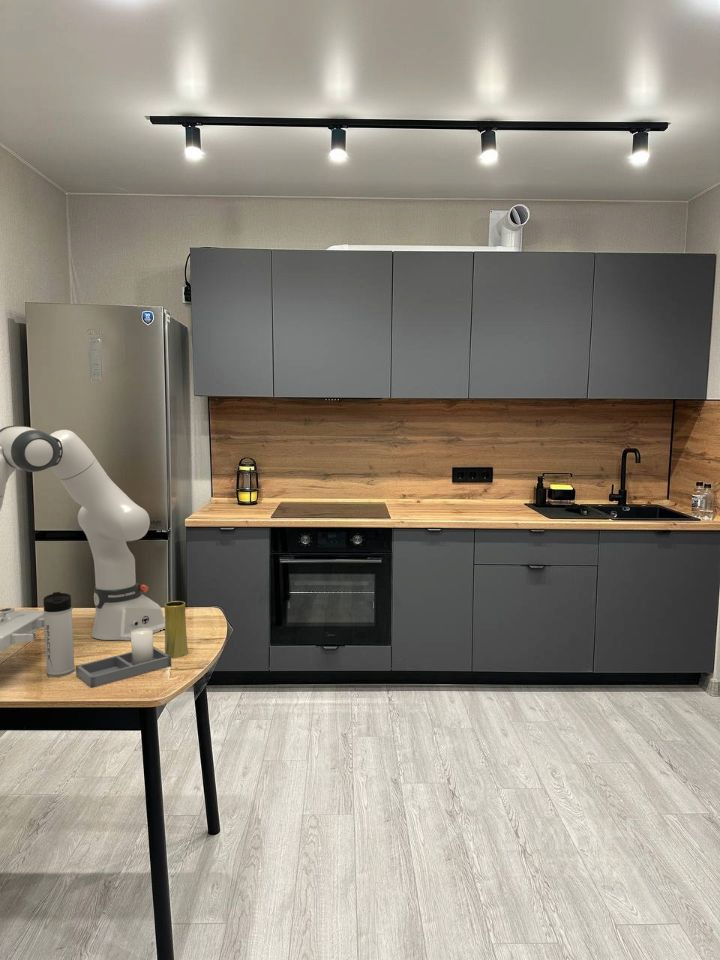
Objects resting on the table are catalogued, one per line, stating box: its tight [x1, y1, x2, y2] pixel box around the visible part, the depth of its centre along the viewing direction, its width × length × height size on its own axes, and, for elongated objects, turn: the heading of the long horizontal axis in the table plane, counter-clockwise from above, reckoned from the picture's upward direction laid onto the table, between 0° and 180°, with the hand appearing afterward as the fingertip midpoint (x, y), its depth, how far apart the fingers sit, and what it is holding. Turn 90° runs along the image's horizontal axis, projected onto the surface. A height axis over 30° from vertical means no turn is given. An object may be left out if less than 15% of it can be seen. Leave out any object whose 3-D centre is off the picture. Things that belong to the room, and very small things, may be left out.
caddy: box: [75, 645, 172, 689], centre depth 165 cm, size 20×10×3 cm, turn 132°
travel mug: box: [42, 591, 75, 679], centre depth 164 cm, size 6×7×20 cm
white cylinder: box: [130, 628, 154, 665], centre depth 168 cm, size 5×5×9 cm
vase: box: [164, 600, 189, 659], centre depth 176 cm, size 6×6×14 cm
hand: (44, 630), depth 164 cm, fingers open, 8 cm apart
